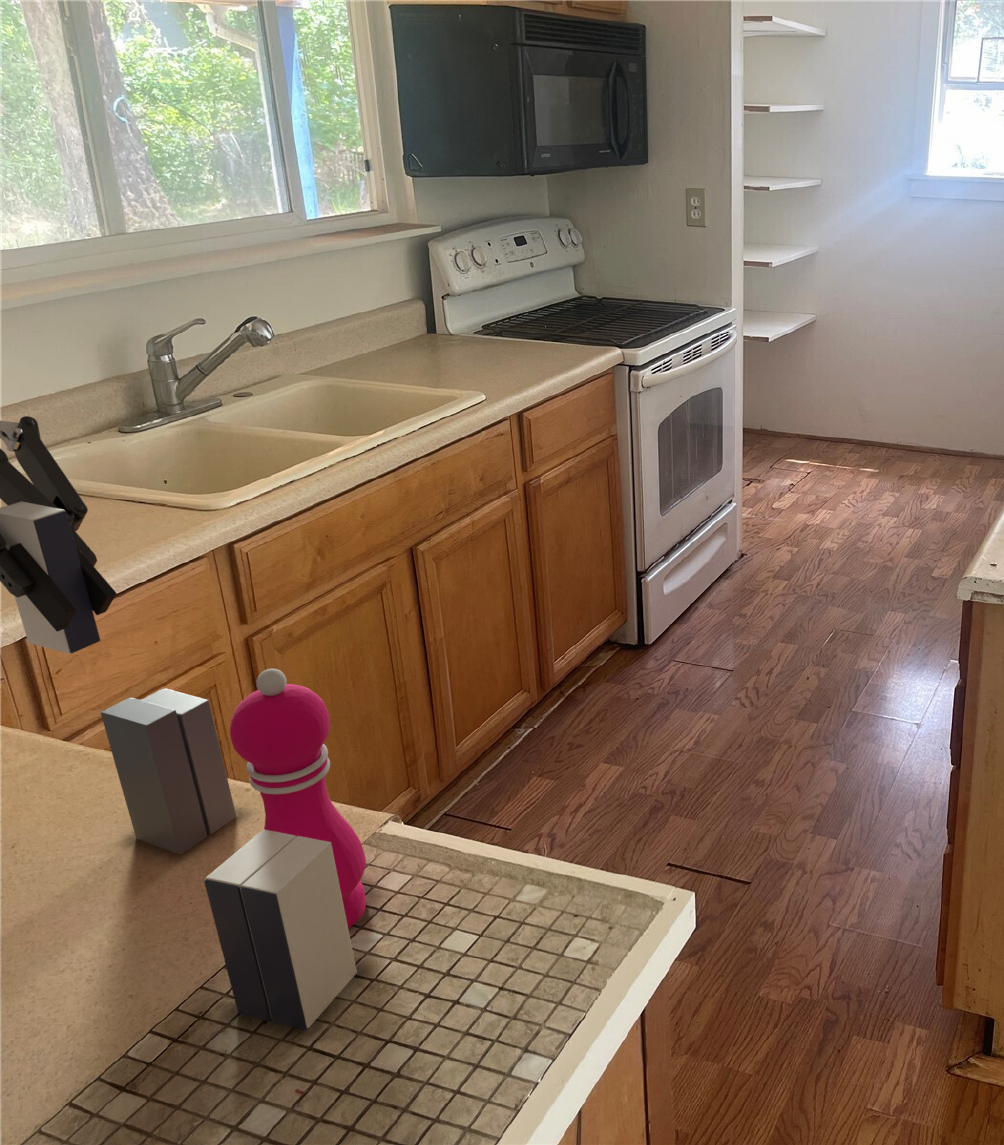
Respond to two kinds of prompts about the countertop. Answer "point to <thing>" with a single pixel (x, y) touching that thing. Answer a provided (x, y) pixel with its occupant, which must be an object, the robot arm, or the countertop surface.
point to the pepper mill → (297, 774)
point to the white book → (51, 574)
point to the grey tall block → (282, 927)
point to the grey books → (170, 768)
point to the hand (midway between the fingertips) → (86, 611)
